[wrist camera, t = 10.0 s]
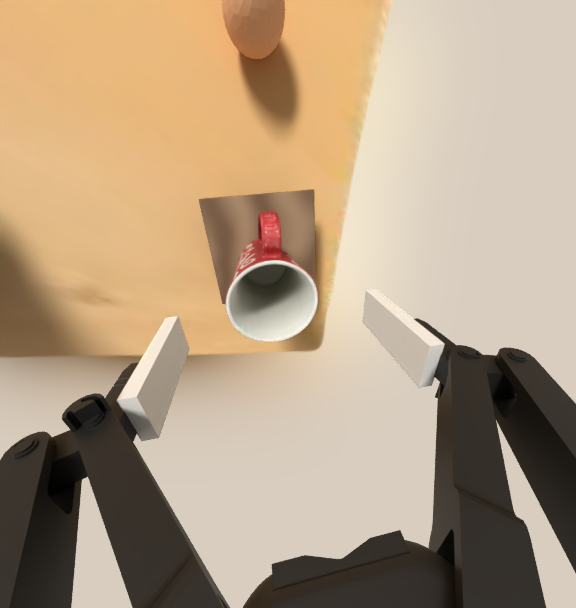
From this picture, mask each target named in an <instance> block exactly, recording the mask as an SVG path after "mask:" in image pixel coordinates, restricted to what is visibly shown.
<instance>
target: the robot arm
mask: <svg viewBox="0 0 576 608" xmlns="http://www.w3.org/2000/svg"><path fill="white" fill-rule="evenodd" d="M363 323H364V324H365V325H366V327H367V328H368V329H369V330H370V331H371V333H372V334H373V335H374V336H375V337H376V338H377V340H378V341H379V342H380V343H381V344H382V345H383V347H384V348H385V349H386V350H387V351H388V352H389V354H390V355H391V356H392V357H393V358H394V360H395V361H396V362H397V363H398V364H399V365H400V366H401V368H402V369H403V370H404V371H405V372H406V374H407V375H408V376H409V377H410V378H411V379H412V380H413V382H414V383H415V384H416V385H417V386H418V387H419V388H420V387H425V386H431V385H432V383H433V380H434V377H436V378H437V379H438V380H439V381H440V384H439V387H438V390H437V393H436V396H435V397H436V398H438V408H437V409H438V410H437V432H436V433H437V434H436V458H435V481H434V506H433V525H432V531H431V536H430V542H429V549H428V548H426V547H424V546H422V545H420V544H417V543H414V542H411V541H407V540H404V538H403V536H402V534H401V531H400V530H399V531H395V532H392V533H388V534H384V535H380V536H376V537H372V538H370V539H368V540H367V541H366V542H364V543H363V544H362V545H360V546H359V547H358V548H356V549H355V550H353V551H352V552H351V553H350V554H348V555H347V556H345V557H344V558H342V559H332V558H323V557H314V556H306V555H305V556H300V557H297V558H293V559H289V560H285V561H282V562H278V563H274V564H272V575H270V576H269V577H268V578H266V579H265V580H264V581H263V582H262V583H261V584H260V585H259V586H258V587H257V588H256V589H255V591H254V592H253V593H252V594H251V596H250V597H249V599H248V600H247V602H246V603H245V605H244V606H243V608H546V605H545V601H544V597H543V592H542V588H541V583H540V579H539V574H538V570H537V566H536V561H535V557H534V552H533V548H532V543H531V539H530V535H529V532H528V529H527V526H526V524H525V523H524V521H523V520H521V519H520V518H518V517H516V515H515V513H514V510H513V506H512V501H511V496H510V491H509V485H508V480H507V475H506V470H505V465H504V459H503V454H502V449H501V444H500V439H499V434H498V428H497V423H496V420H497V422H498V424H499V426H500V428H501V430H502V432H503V434H504V436H505V438H506V440H507V442H508V444H509V445H510V447H511V449H512V451H513V453H514V455H515V457H516V459H517V461H518V463H519V465H520V467H521V469H522V471H523V472H524V474H525V476H526V478H527V480H528V482H529V484H530V486H531V488H532V490H533V492H534V494H535V495H536V497H537V499H538V501H539V503H540V505H541V507H542V509H543V511H544V513H545V515H546V517H547V519H548V521H549V523H550V524H551V526H552V528H553V530H554V532H555V534H556V536H557V538H558V540H559V541H560V543H561V546H562V548H563V549H564V551H565V553H566V555H567V557H568V559H569V561H570V563H571V565H572V567H573V569H574V571H575V573H576V404H575V403H574V401H573V400H572V399H571V398H570V397H569V396H568V395H567V394H566V393H565V392H564V390H563V389H562V388H561V387H560V386H559V385H558V384H557V383H556V381H554V379H553V378H552V377H551V376H550V375H549V374H548V373H547V372H546V370H545V369H544V368H543V367H542V366H541V365H540V364H539V363H538V362H537V360H536V359H535V358H533V357H532V356H531V355H530V354H528V353H526V352H524V351H522V350H519V349H514V348H502V349H500V350H499V352H498V354H497V356H494V355H482V354H481V353H480V352H479V351H477V350H475V349H473V348H471V347H467V346H462V345H455V344H454V343H453V342H451V341H450V340H449V339H447V338H446V337H445V336H443V335H442V334H441V333H439V332H438V331H437V330H436V329H434V328H432V327H431V326H430V325H429V324H428V323H426V322H424V321H422V320H420V319H413V318H412V317H410V316H409V315H408V314H407V313H405V312H404V311H403V310H402V309H400V308H399V307H398V306H397V305H395V304H394V303H393V302H391V301H390V300H389V299H388V298H386V297H385V296H384V295H383V294H382V293H380V292H379V291H378V290H376V289H371V290H366V293H365V303H364V314H363ZM188 351H189V346H188V343H187V340H186V337H185V335H184V332H183V329H182V326H181V323H180V320H179V317H178V316H175V317H167V318H166V319H165V320H164V322H163V324H162V325H161V327H160V329H159V330H158V332H157V334H156V335H155V337H154V339H153V340H152V342H151V344H150V345H149V347H148V349H147V350H146V352H145V354H144V355H143V357H142V359H141V361H140V362H138V363H132V364H131V365H129V366H128V367H127V368H126V369H125V370H124V371H123V372H122V374H121V375H120V377H119V378H118V380H117V381H116V383H115V384H114V387H112V389H111V390H110V392H109V393H108V395H107V396H106V398H104V396H102V395H101V394H91V395H87V396H85V397H83V398H80V399H79V400H77V401H76V402H74V403H72V404H71V405H70V406H69V407H68V408H67V409H66V410H65V412H64V413H63V415H62V420H63V421H64V422H65V424H66V425H67V426H68V427H69V428H70V430H69V431H67V432H64V433H62V434H60V435H57V436H54V437H51V436H50V435H49V434H48V433H46V432H37V433H34V434H31V435H29V436H27V437H25V438H23V439H21V440H20V441H18V442H17V443H16V444H14V445H13V446H12V447H11V448H10V449H9V450H7V452H5V454H4V455H3V457H2V458H1V460H0V608H71V603H72V591H73V579H74V578H73V577H74V567H75V553H76V543H77V530H78V519H79V507H80V494H81V482H82V479H84V478H86V477H88V478H89V480H90V484H91V487H92V489H93V493H94V495H95V498H96V501H97V504H98V507H99V510H100V513H101V516H102V519H103V522H104V525H105V528H106V530H107V534H108V537H109V539H110V542H111V545H112V548H113V551H114V554H115V557H116V560H117V563H118V566H119V569H120V572H121V575H122V578H123V580H124V583H125V586H126V589H127V592H128V595H129V598H130V601H131V604H132V607H133V608H230V607H229V605H228V604H227V602H226V601H225V599H224V597H223V595H222V594H221V592H220V591H219V589H218V587H217V586H216V584H215V582H214V581H213V579H212V577H211V576H210V574H209V572H208V570H207V569H206V567H205V565H204V564H203V562H202V560H201V558H200V557H199V555H198V553H197V551H196V550H195V548H194V546H193V544H192V543H191V541H190V539H189V538H188V536H187V534H186V532H185V531H184V529H183V527H182V526H181V524H180V522H179V520H178V519H177V517H176V516H175V513H174V512H173V510H172V508H171V507H170V505H169V503H168V501H167V500H166V498H165V496H164V495H163V493H162V491H161V490H160V488H159V486H158V484H157V482H156V481H155V479H154V477H153V476H152V474H151V472H150V470H149V469H148V467H147V465H146V464H145V462H144V460H143V458H142V457H141V455H140V453H139V451H138V450H137V448H136V446H135V445H134V443H133V441H134V438H135V436H136V434H137V435H138V436H139V438H140V439H141V441H145V440H150V439H155V438H159V436H160V433H161V430H162V427H163V424H164V421H165V419H166V415H167V413H168V410H169V407H170V404H171V401H172V398H173V395H174V392H175V389H176V386H177V383H178V380H179V378H180V375H181V372H182V369H183V366H184V363H185V360H186V357H187V354H188Z"/></svg>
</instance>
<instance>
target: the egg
mask: <svg viewBox="0 0 576 608" xmlns="http://www.w3.org/2000/svg"><path fill="white" fill-rule="evenodd" d="M222 9H223V17H224V21H225V26H226V29H227V31H228V34H229V36H230V38H231V40H232V42H233V44H234V45H235V46H236V48H237V49H238V50H239V51H240V52H241V53H242V54H244V55H245V56H246V57H249V58H252V59H262V58H265V57H266V56H268V55H270V54H271V53H272V51H273V50H274V49H275V48H276V46H277V44H278V42H279V40H280V38H281V35H282V31H283V26H284V18H285V2H284V0H222Z"/></svg>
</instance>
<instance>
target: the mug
mask: <svg viewBox="0 0 576 608" xmlns="http://www.w3.org/2000/svg"><path fill="white" fill-rule="evenodd" d="M317 307H318V291H317V287H316V284H315V282H314V280H313V279H312V277H311V276H310V275H309V274H308V273H307V272H306V271H305V270H304V269H303V268H301V267H300V266H299V265H298V264H297V263H296V262H295V261H294V260H293V259H292V257H291V256H290V255H289V254H288V253H287V251H286V250H285V249H284V248H283V247H282V239H281V227H280V220H279V216H278V214H277V213H276V212H274V211H265V212H260V213H259V216H258V239H257V240H254V241H252V242H250V243H249V244H248V245H247V246H246V247H245V248H244V249H243V251H242V253H241V255H240V257H239V261H238V265H237V269H236V272H235V275H234V278H233V282H232V283H231V285H230V287H229V289H228V292H227V296H226V311H227V315H228V317H229V319H230V321H231V323H232V324H233V326H234V327H235V328H236V329H237V330H238V331H239V332H240V333H242V334H243V335H245V336H247V337H249V338H251V339H253V340H257V341H262V342H277V341H282V340H286V339H289V338H291V337H293V336H295V335H297V334H298V333H300V332H301V331H302V330H304V329H305V328H306V327H307V326H308V325H309V323H310V322H311V320H312V319H313V317H314V315H315V313H316V310H317Z"/></svg>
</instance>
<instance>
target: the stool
mask: <svg viewBox="0 0 576 608" xmlns="http://www.w3.org/2000/svg"><path fill="white" fill-rule="evenodd" d="M199 203H200V208H201V212H202V216H203V221H204V225H205V229H206V234H207V238H208V242H209V247H210V251H211V256H212V260H213V264H214V269H215V273H216V277H217V282H218V286H219V290H220V295H221V299H222V303H223V304H226V296H227V292H228V289H229V287H230V285H231V283H232V282H233V278H234V275H235V272H236V269H237V265H238V261H239V257H240V255H241V253H242V251H243V249H244V248H245V247H246V246H247V245H248V244H249V243H250V242H252V241H254V240H257V239H258V216H259V213H260V212H265V211H274V212H276V213H277V214H278V216H279V220H280V227H281V239H282V247H283V248H284V249H285V250H286V251H287V253H288V254H289V255H290V256H291V257H292V259H293V260H294V261H295V262H296V263H297V264H298V265H299V266H300V267H301V268H303V269H304V270H305V271H306V272H307V273H308V274H309V275H310V276H311V277H312V279H313V280H314V282H315V284H316V275H315V211H314V190H301V191H289V192H277V193H265V194H253V195H241V196H229V197H217V198H205V199H199Z"/></svg>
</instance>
